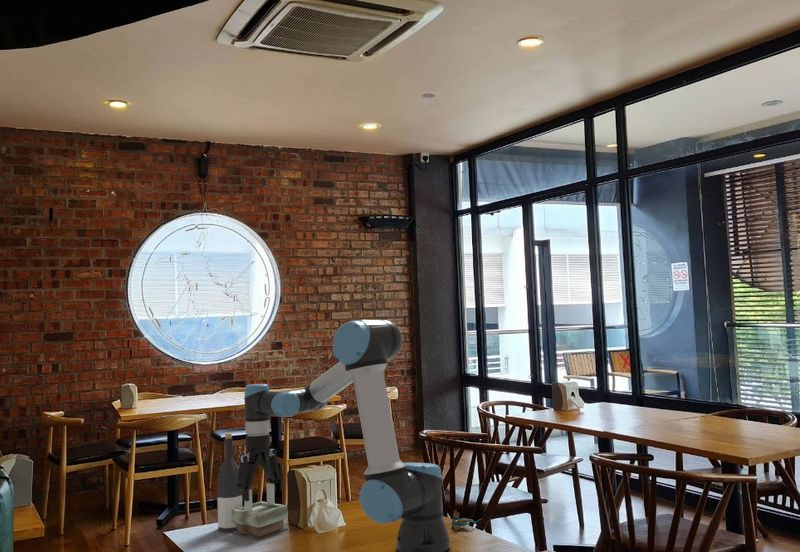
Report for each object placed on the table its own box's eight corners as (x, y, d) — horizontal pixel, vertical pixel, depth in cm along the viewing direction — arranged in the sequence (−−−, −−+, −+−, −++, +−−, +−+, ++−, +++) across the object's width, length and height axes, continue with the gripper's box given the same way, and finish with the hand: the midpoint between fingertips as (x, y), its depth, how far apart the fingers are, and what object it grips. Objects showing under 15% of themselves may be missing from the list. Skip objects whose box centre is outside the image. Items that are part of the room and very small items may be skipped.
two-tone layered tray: (288, 529, 229) (287, 505, 230) (259, 539, 219) (258, 514, 220) (261, 524, 236) (260, 501, 237) (232, 534, 226) (231, 509, 227)
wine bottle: (213, 533, 229) (210, 435, 231) (223, 525, 237) (221, 431, 238) (237, 533, 227) (235, 435, 229) (247, 526, 235) (245, 431, 237)
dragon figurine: (472, 515, 230) (448, 514, 227) (481, 508, 224) (457, 506, 222) (474, 537, 226) (450, 535, 224) (483, 530, 220) (459, 528, 218)
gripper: (274, 428, 240) (276, 498, 239) (222, 438, 223) (224, 514, 222) (290, 429, 236) (293, 501, 235) (239, 440, 219) (241, 517, 217)
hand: (259, 507), depth 228 cm, fingers closed on two-tone layered tray, 9 cm apart
